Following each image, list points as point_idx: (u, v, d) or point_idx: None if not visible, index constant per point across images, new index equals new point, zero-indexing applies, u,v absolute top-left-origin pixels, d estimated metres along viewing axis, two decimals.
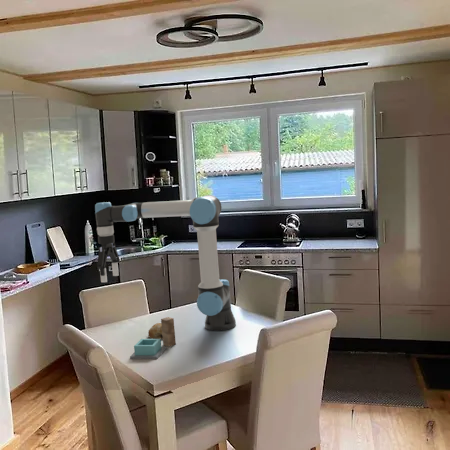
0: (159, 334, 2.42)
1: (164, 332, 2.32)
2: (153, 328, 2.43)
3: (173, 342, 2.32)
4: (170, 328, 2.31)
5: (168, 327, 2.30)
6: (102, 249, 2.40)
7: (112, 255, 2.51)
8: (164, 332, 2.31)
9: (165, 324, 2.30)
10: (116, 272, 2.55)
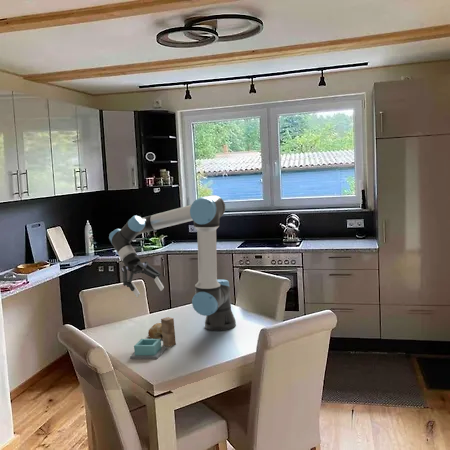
0: (159, 334, 2.42)
1: (164, 332, 2.32)
2: (153, 328, 2.43)
3: (173, 342, 2.32)
4: (170, 328, 2.31)
5: (168, 327, 2.30)
6: (123, 268, 2.40)
7: (147, 272, 2.45)
8: (164, 332, 2.31)
9: (165, 324, 2.30)
10: (160, 285, 2.43)
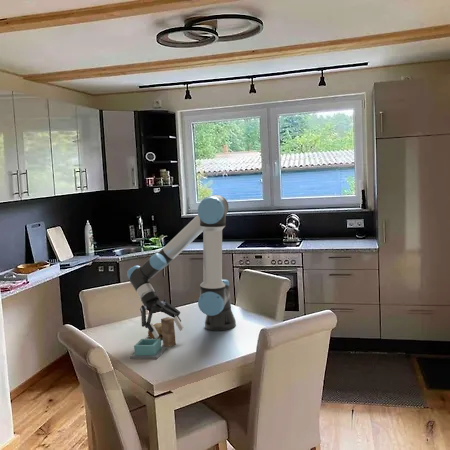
0: (159, 334, 2.42)
1: (164, 332, 2.32)
2: None
3: (173, 342, 2.32)
4: (170, 328, 2.31)
5: (168, 327, 2.30)
6: (141, 307, 2.33)
7: (166, 311, 2.38)
8: (164, 332, 2.31)
9: (165, 324, 2.30)
10: (180, 325, 2.36)
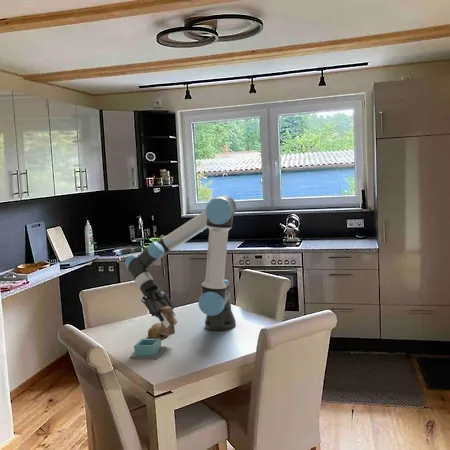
0: (159, 334, 2.42)
1: None
2: (153, 328, 2.43)
3: (172, 331, 2.31)
4: (169, 317, 2.30)
5: (167, 316, 2.29)
6: (143, 299, 2.31)
7: (162, 302, 2.35)
8: None
9: (164, 313, 2.29)
10: (174, 319, 2.31)
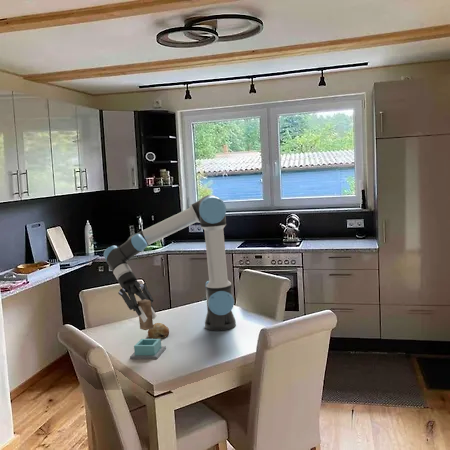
0: (158, 334, 2.43)
1: None
2: (152, 328, 2.43)
3: (150, 325, 2.21)
4: (147, 310, 2.20)
5: (145, 310, 2.19)
6: (121, 291, 2.21)
7: (140, 295, 2.25)
8: None
9: (141, 306, 2.19)
10: (153, 313, 2.21)
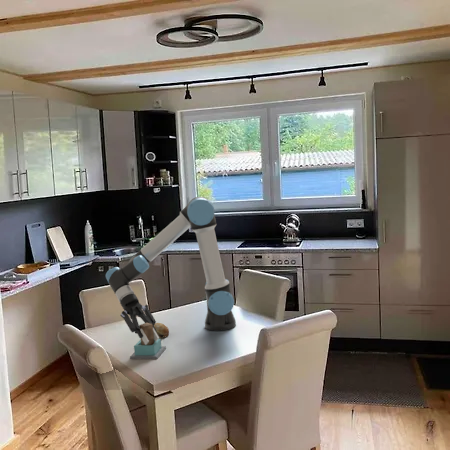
0: (158, 334, 2.43)
1: None
2: None
3: None
4: (149, 334, 2.21)
5: (147, 334, 2.20)
6: (123, 314, 2.22)
7: (143, 317, 2.26)
8: None
9: (143, 330, 2.20)
10: (155, 336, 2.22)
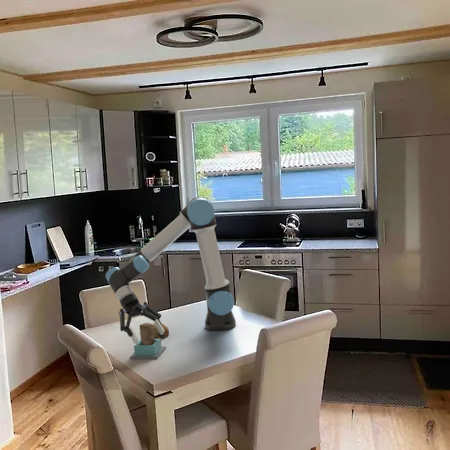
0: (158, 334, 2.43)
1: (142, 338, 2.22)
2: None
3: None
4: (149, 334, 2.21)
5: (147, 334, 2.20)
6: (120, 311, 2.23)
7: (146, 314, 2.28)
8: (143, 338, 2.21)
9: (144, 330, 2.20)
10: (161, 329, 2.26)
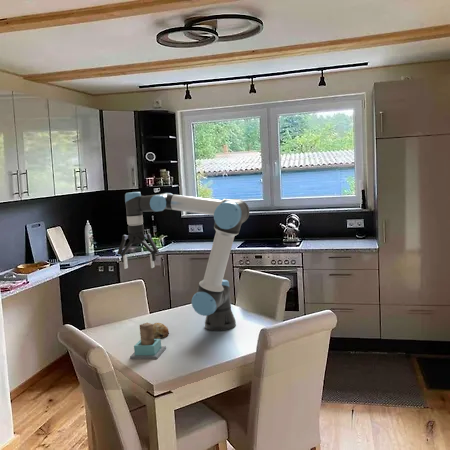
0: (158, 334, 2.43)
1: (142, 338, 2.22)
2: None
3: None
4: (149, 334, 2.21)
5: (147, 334, 2.20)
6: None
7: None
8: (143, 338, 2.21)
9: (144, 330, 2.20)
10: None
